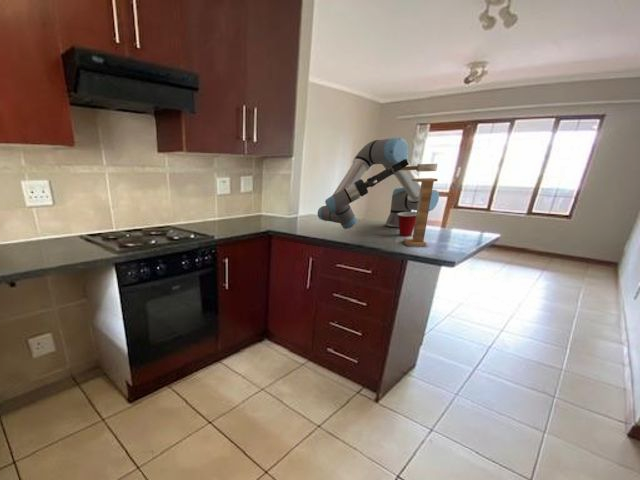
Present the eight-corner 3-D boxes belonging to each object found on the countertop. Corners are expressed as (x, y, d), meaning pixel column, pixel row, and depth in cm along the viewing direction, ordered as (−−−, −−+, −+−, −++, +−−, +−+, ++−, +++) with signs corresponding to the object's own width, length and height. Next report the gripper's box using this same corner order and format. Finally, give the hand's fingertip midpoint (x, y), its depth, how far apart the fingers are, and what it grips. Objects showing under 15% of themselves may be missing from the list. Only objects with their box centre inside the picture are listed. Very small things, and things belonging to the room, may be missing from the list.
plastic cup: (389, 234, 185) (392, 212, 181) (403, 232, 189) (407, 211, 185) (406, 238, 176) (409, 214, 171) (420, 235, 180) (424, 212, 176)
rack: (402, 241, 168) (412, 178, 157) (419, 241, 166) (430, 178, 155) (407, 246, 159) (417, 179, 148) (426, 246, 157) (437, 178, 146)
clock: (386, 172, 157) (387, 165, 156) (433, 170, 153) (434, 163, 152) (390, 172, 150) (391, 165, 149) (438, 170, 146) (440, 163, 145)
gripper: (355, 183, 151) (407, 153, 143) (352, 182, 165) (399, 154, 157) (362, 198, 153) (414, 169, 145) (358, 195, 167) (406, 169, 158)
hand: (406, 161), depth 151 cm, fingers closed on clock, 2 cm apart
